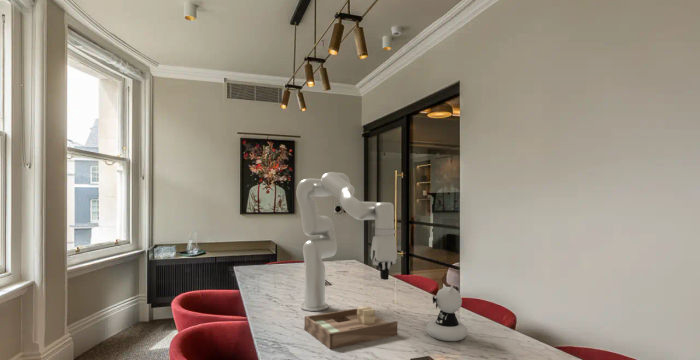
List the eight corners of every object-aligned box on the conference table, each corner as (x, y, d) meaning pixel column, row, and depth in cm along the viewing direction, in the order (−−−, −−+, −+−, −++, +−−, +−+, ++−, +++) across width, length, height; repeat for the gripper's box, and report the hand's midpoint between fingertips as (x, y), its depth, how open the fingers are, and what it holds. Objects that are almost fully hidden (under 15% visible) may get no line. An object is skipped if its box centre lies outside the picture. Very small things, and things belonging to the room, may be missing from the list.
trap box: (304, 329, 149) (304, 316, 149) (366, 319, 163) (366, 307, 163) (330, 349, 130) (330, 334, 130) (397, 335, 144) (397, 321, 144)
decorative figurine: (422, 329, 150) (422, 277, 152) (458, 329, 152) (458, 277, 153) (433, 343, 136) (433, 286, 137) (473, 343, 137) (473, 285, 138)
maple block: (357, 320, 151) (357, 307, 151) (367, 319, 153) (367, 306, 153) (363, 324, 146) (363, 311, 147) (374, 322, 149) (374, 309, 149)
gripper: (394, 231, 163) (394, 275, 162) (363, 233, 155) (363, 279, 154) (405, 233, 156) (405, 279, 155) (374, 234, 149) (374, 282, 148)
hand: (384, 279), depth 155 cm, fingers closed
